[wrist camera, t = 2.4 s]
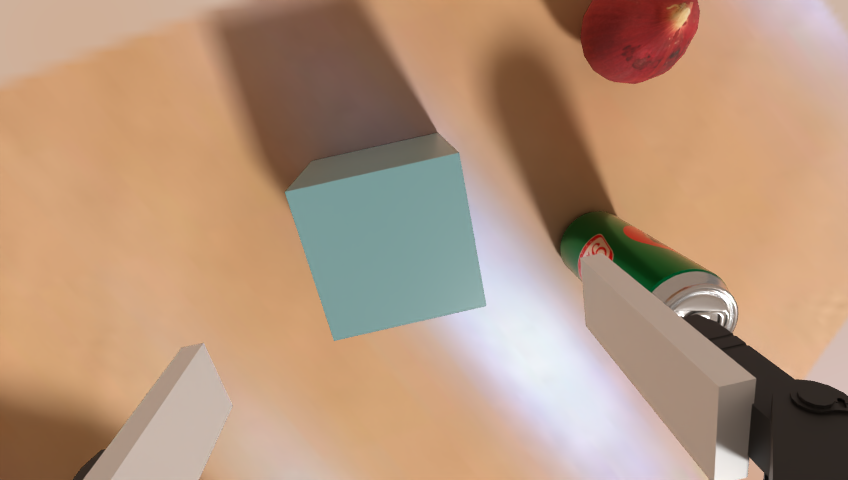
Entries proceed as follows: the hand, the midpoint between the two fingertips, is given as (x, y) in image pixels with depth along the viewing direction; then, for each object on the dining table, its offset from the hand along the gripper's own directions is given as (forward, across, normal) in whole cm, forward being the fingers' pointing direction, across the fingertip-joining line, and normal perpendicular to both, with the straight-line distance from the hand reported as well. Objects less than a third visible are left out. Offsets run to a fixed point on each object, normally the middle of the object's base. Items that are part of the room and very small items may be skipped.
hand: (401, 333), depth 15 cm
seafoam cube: (+16, 0, 0) cm, 17 cm away
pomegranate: (+17, +16, +8) cm, 24 cm away
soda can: (+17, +14, -6) cm, 23 cm away
